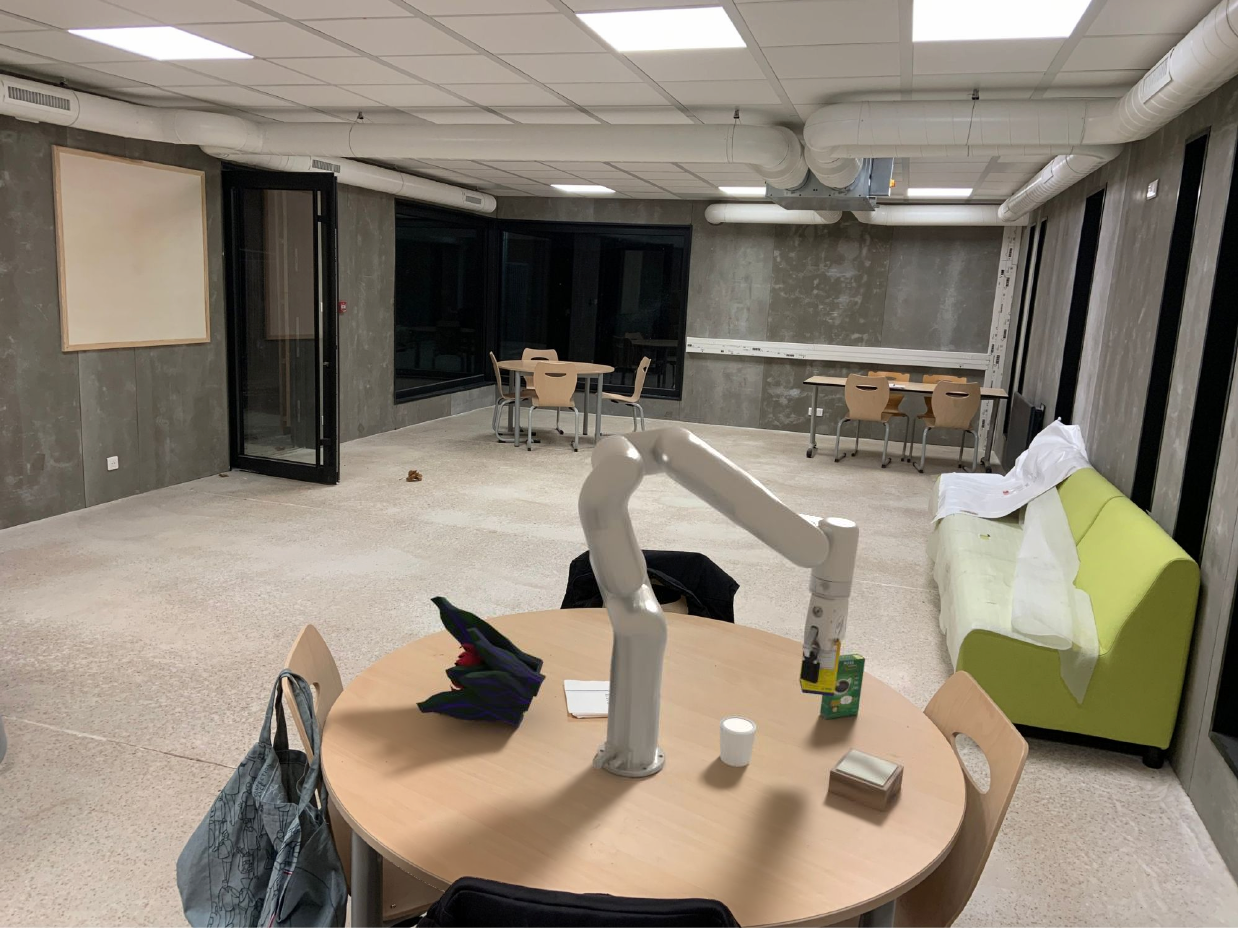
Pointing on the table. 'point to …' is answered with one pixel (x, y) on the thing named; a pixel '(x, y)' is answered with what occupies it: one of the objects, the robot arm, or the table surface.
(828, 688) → the supplement box
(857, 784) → the brown small box
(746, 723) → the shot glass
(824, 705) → the coffee box
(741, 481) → the robot arm
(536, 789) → the table surface
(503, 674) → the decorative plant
